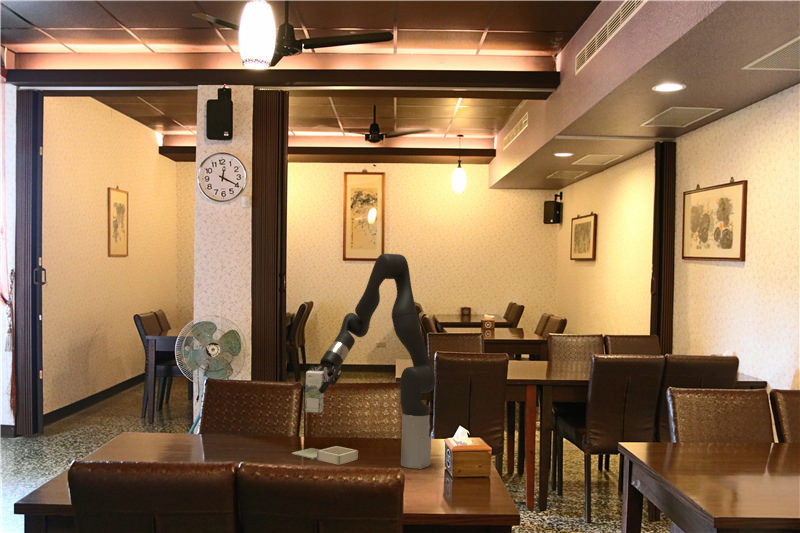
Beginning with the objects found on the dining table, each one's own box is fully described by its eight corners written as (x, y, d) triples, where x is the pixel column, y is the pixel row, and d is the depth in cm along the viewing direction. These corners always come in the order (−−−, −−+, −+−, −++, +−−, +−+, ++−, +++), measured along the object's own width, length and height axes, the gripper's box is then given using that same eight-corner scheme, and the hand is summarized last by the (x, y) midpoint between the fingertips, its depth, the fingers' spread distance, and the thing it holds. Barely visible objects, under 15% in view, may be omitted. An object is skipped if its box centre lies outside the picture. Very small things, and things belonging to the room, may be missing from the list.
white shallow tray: (360, 458, 214) (361, 449, 214) (335, 465, 203) (336, 456, 203) (314, 448, 226) (314, 440, 227) (288, 454, 216) (289, 446, 216)
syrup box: (323, 410, 222) (325, 370, 223) (319, 413, 216) (321, 372, 217) (308, 410, 222) (309, 369, 223) (304, 412, 217) (305, 371, 217)
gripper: (316, 348, 231) (292, 382, 221) (345, 351, 222) (322, 386, 212) (325, 361, 235) (302, 395, 225) (353, 364, 226) (331, 399, 216)
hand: (312, 390), depth 218 cm, fingers closed on syrup box, 7 cm apart
